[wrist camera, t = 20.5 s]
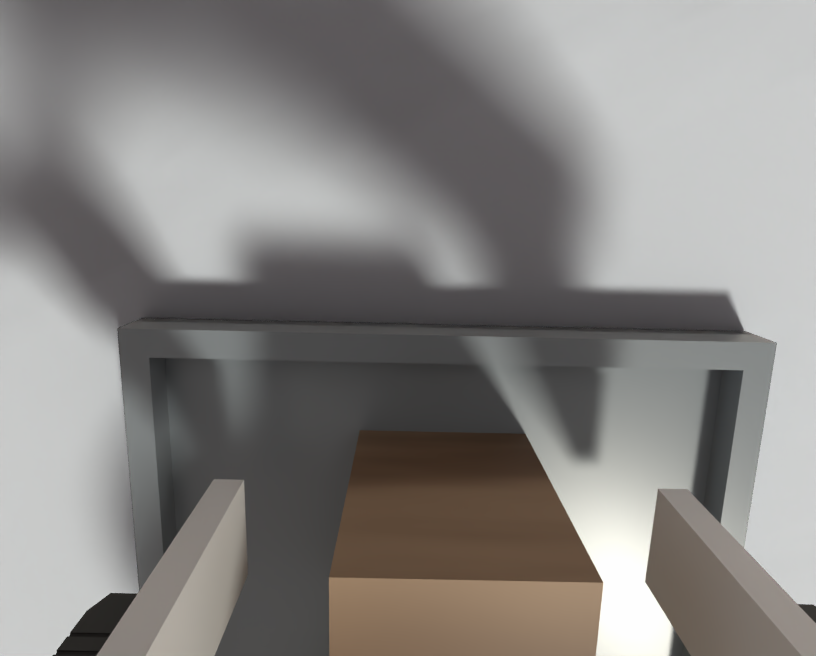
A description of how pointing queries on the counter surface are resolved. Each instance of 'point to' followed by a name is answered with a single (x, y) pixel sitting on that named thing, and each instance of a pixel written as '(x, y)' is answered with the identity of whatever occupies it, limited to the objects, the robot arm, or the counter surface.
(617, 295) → the counter surface
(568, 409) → the tray
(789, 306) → the counter surface
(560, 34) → the counter surface
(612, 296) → the counter surface
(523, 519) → the walnut block
